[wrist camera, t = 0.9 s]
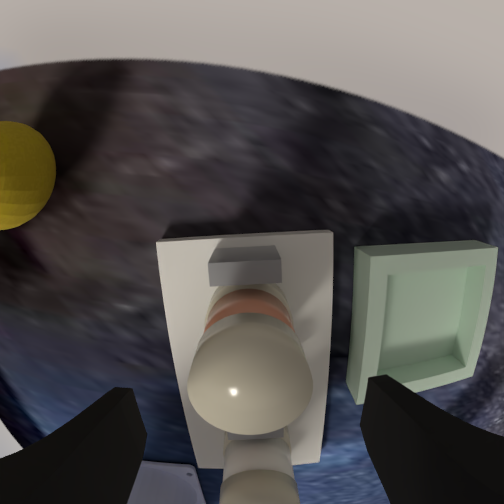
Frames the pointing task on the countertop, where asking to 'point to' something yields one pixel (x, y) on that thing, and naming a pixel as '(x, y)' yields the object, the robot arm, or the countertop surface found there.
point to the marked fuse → (249, 362)
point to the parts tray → (419, 312)
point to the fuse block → (247, 273)
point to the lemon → (23, 173)
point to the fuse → (258, 471)
